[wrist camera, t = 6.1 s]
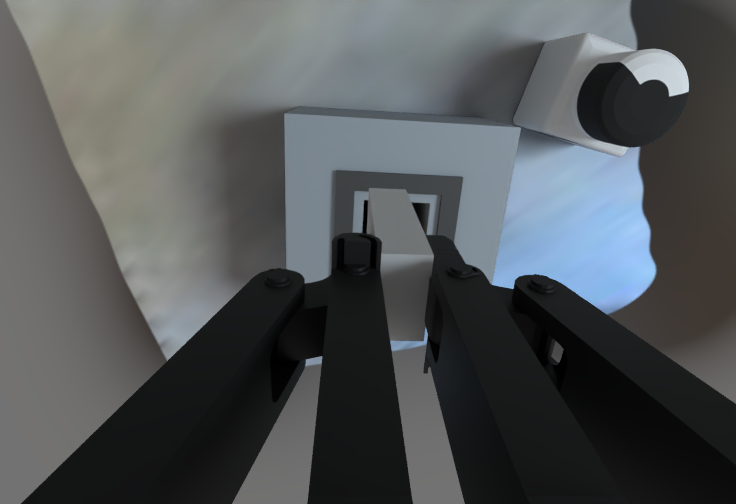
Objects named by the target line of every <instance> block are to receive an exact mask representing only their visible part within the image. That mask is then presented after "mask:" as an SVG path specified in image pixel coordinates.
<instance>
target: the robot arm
mask: <svg viewBox="0 0 736 504" xmlns="http://www.w3.org/2000/svg"><path fill="white" fill-rule="evenodd" d="M425 325H426V329H427V332H428V339H427V347H426V355H425V363H424V373H428V368H429V367H430V368H431V372H432V376H433V380H434V383H435V387H436V391H437V395H438V399H439V403H440V407H441V411H442V415H443V419H444V423H445V427H446V431H447V435H448V439H449V443H450V446H451V451H452V455H453V458H454V463H455V467H456V471H457V474H458V478H459V482H460V487H461V491H462V494H463V498H464V502H465V504H736V404H735V403H734V402H732V401H731V400H729V399H728V398H726V397H724V396H723V395H722V394H720V393H719V392H718V391H716V390H715V389H713V388H712V387H710V386H709V385H708V384H706V383H705V382H703V381H702V380H700V379H699V378H697V377H696V376H695V375H693V374H692V373H690V372H689V371H687V370H686V369H684V368H683V367H682V366H680V365H679V364H677V363H676V362H674V361H673V360H671V359H670V358H668V357H667V356H666V355H664V354H663V353H661V352H660V351H658V350H657V349H656V348H654V347H653V346H651V345H650V344H648V343H647V342H645V341H644V340H643V339H641V338H639V337H638V336H637V335H635V334H634V333H632V332H631V331H630V330H628V329H627V328H625V327H624V326H622V325H621V324H619V323H618V322H617V321H615V320H614V319H612V318H611V317H609V316H608V315H606V314H605V313H604V312H602V311H601V310H599V309H598V308H596V307H595V306H593V305H592V304H591V303H589V302H588V301H586V300H585V299H583V298H582V297H580V296H579V295H578V294H576V293H575V292H573V291H572V290H570V289H569V288H567V287H566V286H565V285H563V284H561V283H559V282H558V281H556V280H553V279H550V278H548V277H547V276H543V275H541V276H540V275H536V274H534V275H524V276H520V277H518V278H517V279H516V280H515V284H514V289H509V288H504V287H498V286H494V285H491V284H490V282H489V280H488V279H487V277H486V276H485V274H484V273H483V272H482V271H481V270H480V269H478V268H477V267H474V266H472V265H469V264H466V263H465V262H464V260H463V258H462V256H461V255H460V254H459V251H458V249H456V246H455V244H454V242H453V241H452V240H450V239H449V238H447V237H446V236H444V235H425V233H424V231H423V229H422V226H421V224H420V222H419V219H418V217H417V215H416V212H415V210H414V208H413V205H412V203H411V201H410V198H409V196H408V194H407V191H406V189H382V188H369V197H368V217H367V234H366V233H357V232H356V233H342V234H340V235H338V236H336V237H334V238H333V240H332V268H331V275H330V276H329V277H327V278H325V279H323V280H320V281H316V282H311V283H305V279H304V277H303V276H302V275H301V274H300V273H298V272H296V271H292V270H288V269H281V268H277V269H270V270H268V271H265V272H261V273H259V274H258V275H256V276H255V277H253V278H252V279H251V280H250V281H249V282H248V283H247V284H246V285H245V286H244V287H243V288H242V289H241V290H240V291H239V292H238V293H237V294H236V295H235V296H234V297H233V298H232V299H231V300H230V301H229V302H228V303H227V304H226V305H225V306H224V307H223V308H221V309H220V310H219V311H218V312H217V313H216V314H215V315H214V316H213V317H212V318H211V319H210V320H209V321H208V322H207V323H206V324H205V325H204V326H203V327H202V328H201V329H200V330H199V331H198V332H197V333H196V334H195V335H194V336H193V337H192V338H191V339H190V340H189V341H188V342H187V343H186V344H185V345H183V346H182V347H181V348H180V349H179V350H178V351H177V352H176V353H175V354H174V355H173V356H172V357H171V358H170V359H169V360H168V361H167V362H166V363H165V364H164V365H163V366H162V367H161V368H160V369H159V370H158V371H157V372H156V373H155V374H154V375H153V376H152V377H151V378H150V379H149V380H148V381H147V382H145V383H144V385H143V386H141V387H140V388H139V389H138V390H137V391H136V392H135V393H134V394H133V395H132V396H131V397H130V398H129V399H128V400H127V401H126V402H125V403H124V404H123V405H122V406H121V407H120V408H119V409H118V410H117V411H116V412H115V413H114V414H113V415H112V416H111V417H110V418H109V419H107V421H106V422H105V423H103V424H102V425H101V426H100V427H99V428H98V429H97V430H96V431H95V432H94V433H93V434H92V435H91V436H90V437H89V438H88V439H87V440H86V441H85V442H84V443H83V444H82V445H81V446H80V447H79V448H78V449H77V450H76V451H75V452H74V453H73V454H72V455H71V456H70V457H69V458H67V460H65V462H63V463H62V464H61V465H60V466H59V467H58V468H57V469H56V470H55V471H54V472H53V473H52V474H51V475H50V476H49V477H48V478H47V479H46V480H45V481H44V482H43V483H42V484H41V485H40V486H39V487H38V488H37V489H36V490H35V491H34V492H33V493H32V494H31V495H29V497H27V498H26V499H25V500H24V501H23V502H22V503H21V504H232V503H233V501H234V499H235V497H236V495H237V493H238V491H239V489H240V487H241V486H242V484H243V482H244V480H245V478H246V477H247V475H248V473H249V471H250V469H251V467H252V465H253V464H254V462H255V460H256V458H257V456H258V454H259V452H260V450H261V449H262V447H263V445H264V443H265V441H266V439H267V437H268V436H269V434H270V432H271V430H272V428H273V426H274V424H275V423H276V421H277V419H278V417H279V415H280V413H281V411H282V410H283V408H284V406H285V404H286V402H287V400H288V398H289V396H290V395H291V393H292V391H293V389H294V387H295V385H296V383H297V382H298V380H299V378H300V376H301V374H302V372H303V370H304V368H305V364H306V359H310V358H315V357H319V356H323V357H322V367H321V377H320V387H319V396H318V407H317V416H316V426H315V436H314V446H313V455H312V465H311V475H310V485H309V495H308V504H413V501H412V496H411V488H410V481H409V474H408V467H407V460H406V454H405V446H404V438H403V431H402V424H401V416H400V409H399V402H398V395H397V388H396V380H395V373H394V366H393V359H392V351H391V344H390V340H395V341H424V333H425ZM556 341H557V342H558V343H559V344H560V345H561V346H562V348H563V349H564V351H563V354H562V358H561V360H560V362H559V363H558V362H556V361H555V360H554V359H553V358H552V357H551V356H552V352H553V349H554V345H555V342H556Z"/></svg>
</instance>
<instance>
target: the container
mask: <svg viewBox="0 0 736 504" xmlns="http://www.w3.org/2000/svg"><path fill="white" fill-rule="evenodd" d="M688 89H689V83H688V76H687V72H686V70H685V68H684V66H683V64H682V63H681V61H680V60H679V59H678V58H677V57H676V56H674V55H673V54H671V53H669V52H667V51H663V50H660V49H647V50H638V51H636V50H633V49H630V48H628V47H625V46H622V45H620V44H617V43H614V42H612V41H609V40H607V39H604V38H601V37H599V36H596V35H593V34H591V33H582V34H578V35H573V36H569V37H564V38H560V39H555V40H550V41H547V42H545V44H544V45H543V48H542V50H541V53H540V55H539V57H538V60H537V62H536V65H535V67H534V70H533V72H532V74H531V77H530V79H529V82H528V84H527V86H526V89H525V91H524V94H523V96H522V99H521V101H520V103H519V106H518V108H517V111H516V113H515V115H514V118H513V123H514V124H515V125H518V126H521V127H524V128H527V129H530V130H533V131H536V132H539V133H542V134H545V135H548V136H551V137H554V138H557V139H560V140H563V141H566V142H569V143H572V144H575V145H578V146H581V147H585V148H588V149H592V150H596V151H599V152H603V153H606V154H610V155H614V156H617V157H620V156H623V155H624V154H625V152H626V150H627V148H628V147H639V146H643V145H646V144H649V143H651V142H654V141H655V140H657V139H659V138H660V137H662V136H663V135H664V134H666V133H667V132H668V131H669V130H670V129H671V128H672V127H673V125H674V124H675V123H676V122H677V120H678V119H679V117H680V115H681V114H682V112H683V109H684V107H685V105H686V101H687V98H688V91H689V90H688Z"/></svg>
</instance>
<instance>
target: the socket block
mask: <svg viewBox="0 0 736 504" xmlns="http://www.w3.org/2000/svg"><path fill="white" fill-rule="evenodd" d="M284 124H285V202H286V269H288V270H292V271H296V272H298V273H300V274H301V275H302V276H303V277H304V279H305V283H311V282H316V281H320V280H323V279H325V278H327V277H329V276H330V275H331V268H332V240H333V238H334V237H336V236H338V235H340V234H342V233H356V232H357V233H366V234H367V225H363V210H364V200H368V197H369V188H382V189H406V191H407V194H408V196H409V198H410V201H411V202H412V205H413V208H414V210H415V212H416V215H417V217H418V219H419V222H420V224H421V226H422V229H423V231H424V233H425V235H444V236H446V237H447V238H449V239H450V240H452V241H453V242H454V244H455V246H456V249H458V251H459V254H460V255H461V256H462V258H463V260H464V262H465V263H466V264H469V265H472V266H474V267H477V268H478V269H480V270H481V271H482V272H483V273H484V274H485V276H486V277H487V279H488V280H489V282H490V284H491V285H492V281H493V275H494V270H495V265H496V259H497V254H498V249H499V243H500V238H501V232H502V227H503V222H504V216H505V211H506V206H507V200H508V195H509V190H510V184H511V179H512V174H513V168H514V163H515V158H516V152H517V147H518V142H519V136H520V131H521V127H517V126H513V125H509V124H506V123H502V122H498V121H494V120H491V119H487V118H481V117H464V116H448V115H432V114H415V113H399V112H383V111H366V110H350V109H334V108H317V107H301V106H300V107H298V108H296V109H293V110H291V111H289V112H286V113H284ZM425 327H426V325H425Z"/></svg>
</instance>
